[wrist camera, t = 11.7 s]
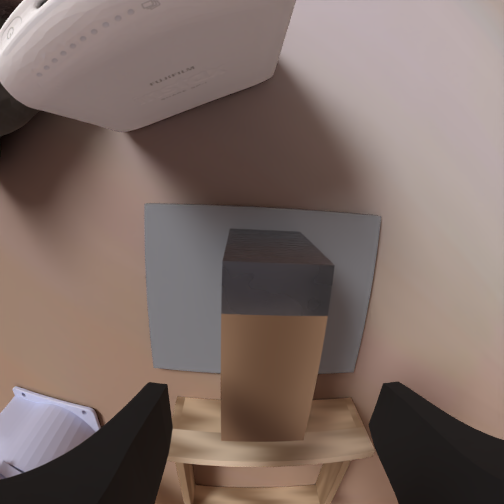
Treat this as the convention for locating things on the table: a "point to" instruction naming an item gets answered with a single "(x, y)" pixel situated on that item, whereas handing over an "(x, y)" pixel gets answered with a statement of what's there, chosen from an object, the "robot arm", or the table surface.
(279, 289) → the brown and grey block
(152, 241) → the slate mat
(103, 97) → the photo printer
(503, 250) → the table surface
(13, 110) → the rock
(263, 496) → the wooden cubby shelf
